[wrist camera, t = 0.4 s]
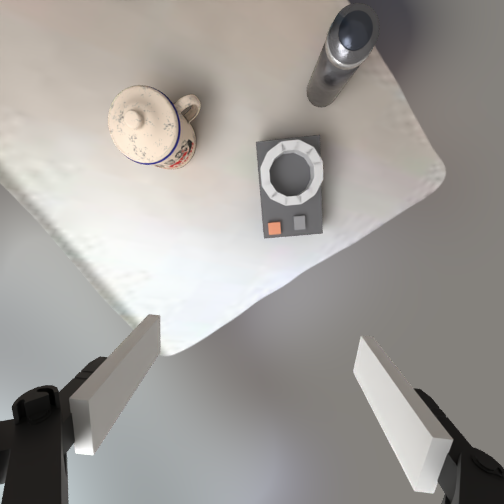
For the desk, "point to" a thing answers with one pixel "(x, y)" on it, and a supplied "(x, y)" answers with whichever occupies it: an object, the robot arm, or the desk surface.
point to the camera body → (290, 186)
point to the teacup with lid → (153, 127)
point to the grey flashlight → (343, 52)
